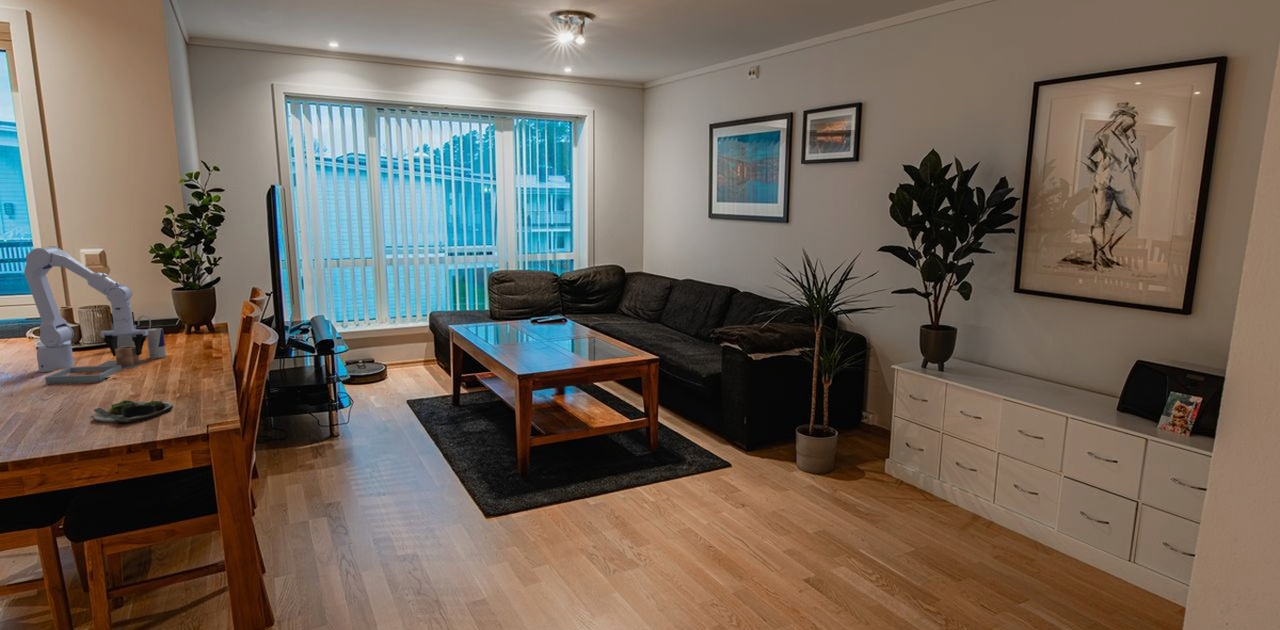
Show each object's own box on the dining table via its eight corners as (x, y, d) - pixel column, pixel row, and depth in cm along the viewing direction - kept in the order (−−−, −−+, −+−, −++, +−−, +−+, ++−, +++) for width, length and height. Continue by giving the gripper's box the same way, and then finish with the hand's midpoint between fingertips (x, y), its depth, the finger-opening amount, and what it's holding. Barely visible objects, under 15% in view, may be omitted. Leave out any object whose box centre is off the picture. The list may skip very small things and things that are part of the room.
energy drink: (169, 358, 267) (166, 328, 265) (159, 361, 262) (155, 330, 260) (157, 357, 267) (153, 327, 265) (146, 361, 262) (142, 330, 260)
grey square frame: (46, 384, 230) (45, 377, 229) (70, 373, 243) (69, 367, 243) (100, 382, 233) (99, 375, 233) (122, 371, 246) (121, 365, 246)
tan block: (117, 365, 252) (115, 349, 251) (126, 361, 258) (124, 345, 257) (132, 364, 253) (130, 348, 252) (141, 360, 259) (139, 345, 258)
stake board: (88, 372, 245) (86, 360, 244) (109, 363, 259) (108, 351, 258) (132, 370, 248) (131, 358, 247) (151, 361, 261) (150, 350, 261)
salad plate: (70, 424, 193) (67, 408, 192) (124, 405, 210) (122, 390, 209) (133, 427, 190) (131, 411, 190) (182, 408, 208) (180, 393, 207)
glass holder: (119, 347, 285) (114, 311, 282) (158, 345, 288) (154, 310, 285) (108, 352, 276) (104, 315, 274) (149, 350, 280) (144, 314, 277)
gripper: (150, 316, 257) (154, 351, 259) (106, 317, 254) (110, 353, 256) (141, 319, 250) (145, 356, 253) (95, 321, 247) (100, 357, 250)
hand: (127, 355), depth 254 cm, fingers open, 7 cm apart
